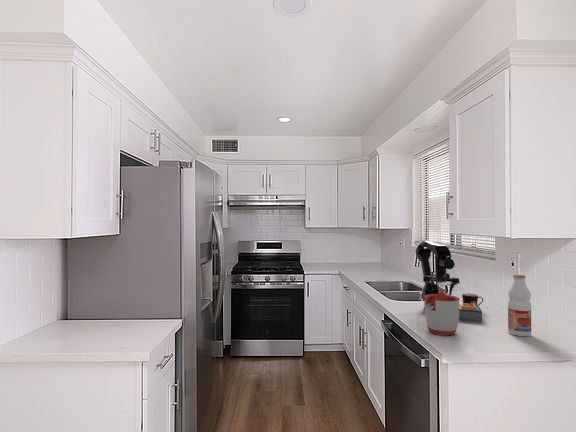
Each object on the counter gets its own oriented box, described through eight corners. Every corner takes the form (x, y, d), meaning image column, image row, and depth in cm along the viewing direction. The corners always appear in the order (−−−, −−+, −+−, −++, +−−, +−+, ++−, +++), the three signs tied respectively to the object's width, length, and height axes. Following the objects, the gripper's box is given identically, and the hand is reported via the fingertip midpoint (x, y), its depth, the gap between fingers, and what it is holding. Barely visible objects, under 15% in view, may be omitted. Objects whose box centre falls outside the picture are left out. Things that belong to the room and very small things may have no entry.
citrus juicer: (414, 330, 181) (414, 289, 181) (441, 326, 188) (441, 287, 188) (439, 339, 167) (439, 295, 167) (467, 335, 174) (467, 292, 174)
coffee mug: (462, 312, 217) (462, 295, 217) (461, 309, 225) (461, 292, 225) (484, 314, 213) (484, 297, 213) (483, 311, 221) (483, 294, 221)
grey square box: (455, 314, 211) (455, 301, 211) (479, 317, 207) (479, 303, 207) (457, 320, 200) (457, 306, 200) (482, 322, 196) (482, 308, 196)
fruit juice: (516, 330, 182) (516, 273, 182) (535, 335, 173) (535, 275, 174) (503, 332, 178) (503, 274, 178) (523, 338, 169) (522, 277, 170)
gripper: (423, 267, 205) (423, 296, 204) (460, 269, 198) (460, 298, 198) (423, 265, 215) (423, 292, 215) (458, 267, 208) (458, 295, 208)
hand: (440, 294), depth 209 cm, fingers open, 9 cm apart
